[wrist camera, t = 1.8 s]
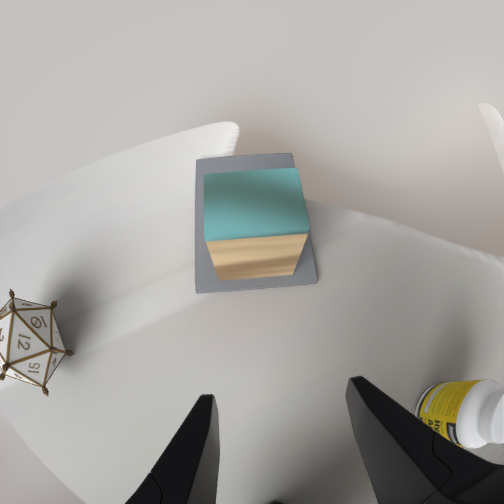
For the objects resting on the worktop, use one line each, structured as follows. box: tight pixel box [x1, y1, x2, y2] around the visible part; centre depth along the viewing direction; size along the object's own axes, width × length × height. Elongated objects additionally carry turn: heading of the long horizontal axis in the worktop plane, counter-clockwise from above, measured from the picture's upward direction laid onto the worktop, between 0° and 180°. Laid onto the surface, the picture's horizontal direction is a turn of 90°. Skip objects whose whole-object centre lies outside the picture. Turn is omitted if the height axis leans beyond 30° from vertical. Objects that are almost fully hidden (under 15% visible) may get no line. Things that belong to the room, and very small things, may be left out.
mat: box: [195, 153, 317, 293], centre depth 26 cm, size 14×10×1 cm
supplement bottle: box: [415, 380, 504, 448], centre depth 14 cm, size 5×5×10 cm
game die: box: [0, 289, 74, 396], centre depth 18 cm, size 9×8×10 cm
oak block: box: [204, 168, 310, 281], centre depth 21 cm, size 4×6×8 cm
